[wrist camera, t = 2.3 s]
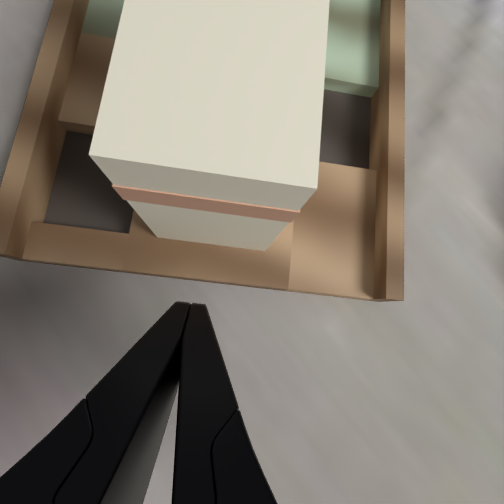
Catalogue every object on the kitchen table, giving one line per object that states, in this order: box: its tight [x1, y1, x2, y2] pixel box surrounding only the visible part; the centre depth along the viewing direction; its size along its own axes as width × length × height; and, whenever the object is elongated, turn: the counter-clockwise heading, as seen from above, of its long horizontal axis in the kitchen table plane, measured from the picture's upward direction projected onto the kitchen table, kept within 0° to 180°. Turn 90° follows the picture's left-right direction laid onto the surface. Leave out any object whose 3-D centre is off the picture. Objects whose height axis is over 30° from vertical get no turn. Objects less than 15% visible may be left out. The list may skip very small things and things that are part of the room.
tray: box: [0, 0, 405, 302], centre depth 19 cm, size 27×21×2 cm
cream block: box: [89, 0, 330, 251], centre depth 13 cm, size 12×6×9 cm, turn 174°
